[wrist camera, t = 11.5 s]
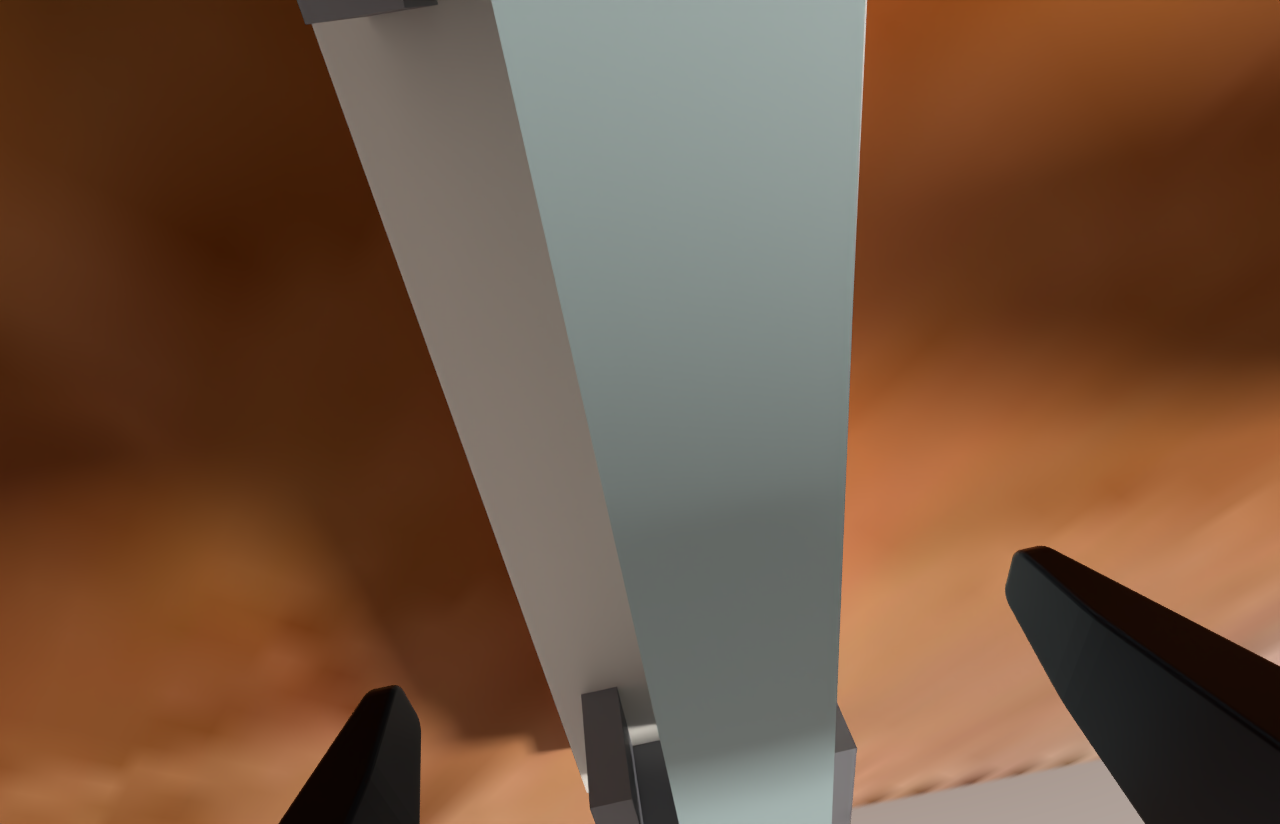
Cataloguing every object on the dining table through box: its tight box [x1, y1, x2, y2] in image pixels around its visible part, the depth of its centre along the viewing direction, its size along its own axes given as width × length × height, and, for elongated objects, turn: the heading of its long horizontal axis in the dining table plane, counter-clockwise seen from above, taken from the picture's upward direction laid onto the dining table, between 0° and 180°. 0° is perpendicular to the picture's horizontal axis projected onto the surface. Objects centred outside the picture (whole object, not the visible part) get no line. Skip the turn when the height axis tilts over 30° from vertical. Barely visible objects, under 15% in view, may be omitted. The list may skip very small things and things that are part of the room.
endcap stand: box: [297, 0, 867, 824], centre depth 13 cm, size 8×26×4 cm, turn 8°
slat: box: [491, 0, 865, 824], centre depth 11 cm, size 2×20×6 cm, turn 8°
